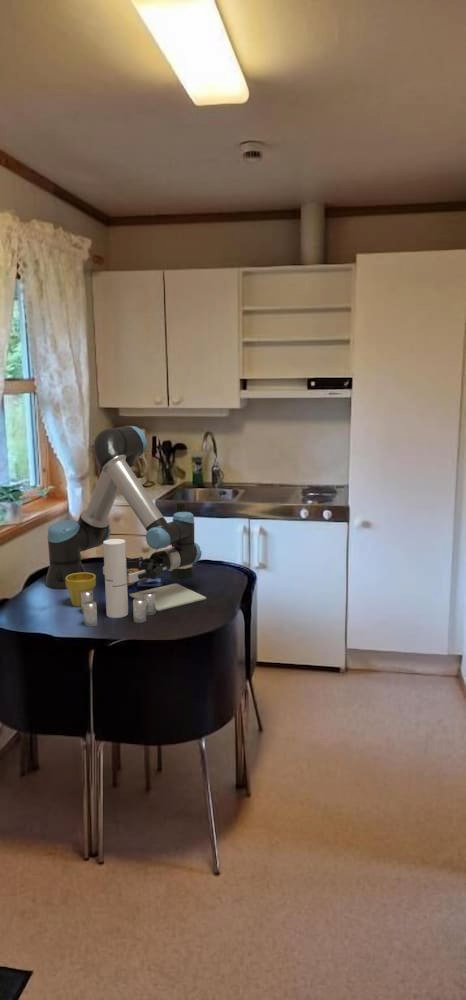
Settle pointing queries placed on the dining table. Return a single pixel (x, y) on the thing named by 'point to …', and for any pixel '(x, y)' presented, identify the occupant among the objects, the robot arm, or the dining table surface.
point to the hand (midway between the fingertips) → (116, 574)
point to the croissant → (131, 573)
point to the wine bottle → (188, 569)
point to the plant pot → (79, 585)
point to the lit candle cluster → (139, 607)
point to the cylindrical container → (115, 578)
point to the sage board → (171, 596)
